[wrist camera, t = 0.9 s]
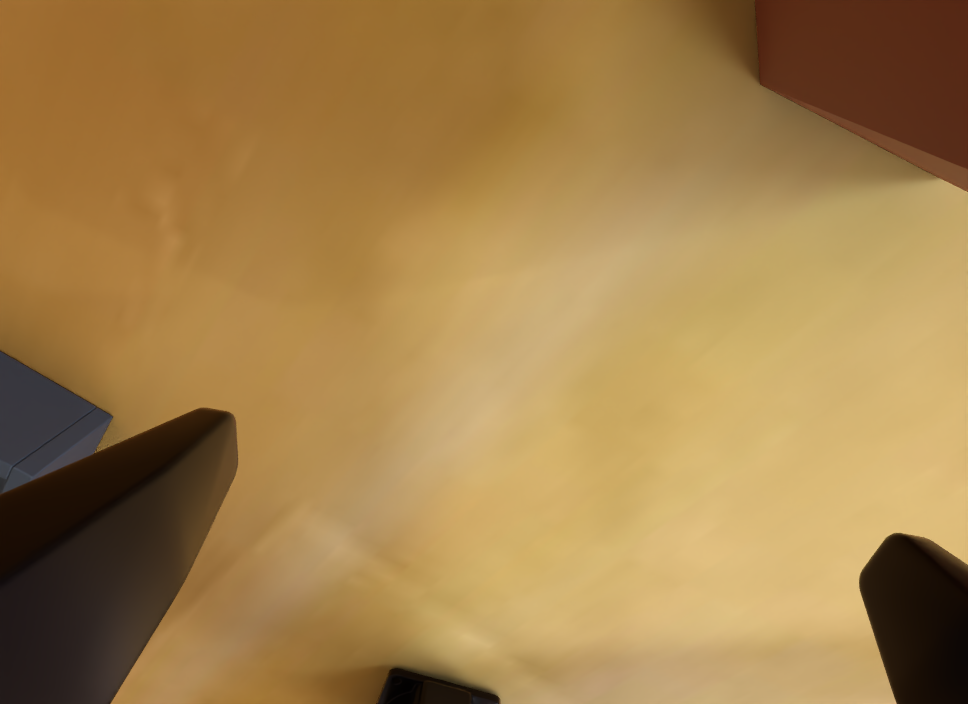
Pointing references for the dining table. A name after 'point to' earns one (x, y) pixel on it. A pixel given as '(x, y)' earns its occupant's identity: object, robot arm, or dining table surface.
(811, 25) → the bucket
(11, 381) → the basket
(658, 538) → the dining table surface
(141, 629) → the robot arm
